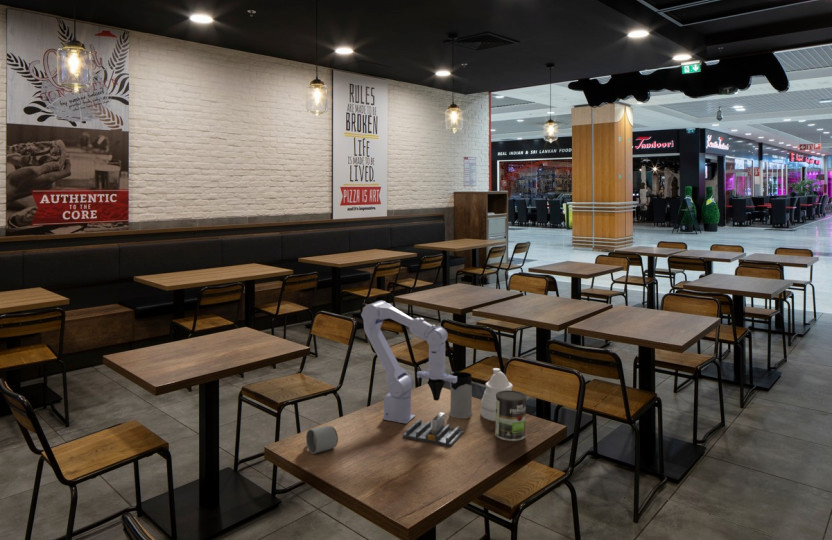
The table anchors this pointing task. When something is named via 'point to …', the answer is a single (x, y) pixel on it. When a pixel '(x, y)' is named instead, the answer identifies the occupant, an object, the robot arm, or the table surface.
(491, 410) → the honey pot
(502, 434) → the coffee can
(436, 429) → the panel
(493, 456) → the table surface
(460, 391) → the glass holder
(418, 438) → the rack
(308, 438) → the ceramic mug
